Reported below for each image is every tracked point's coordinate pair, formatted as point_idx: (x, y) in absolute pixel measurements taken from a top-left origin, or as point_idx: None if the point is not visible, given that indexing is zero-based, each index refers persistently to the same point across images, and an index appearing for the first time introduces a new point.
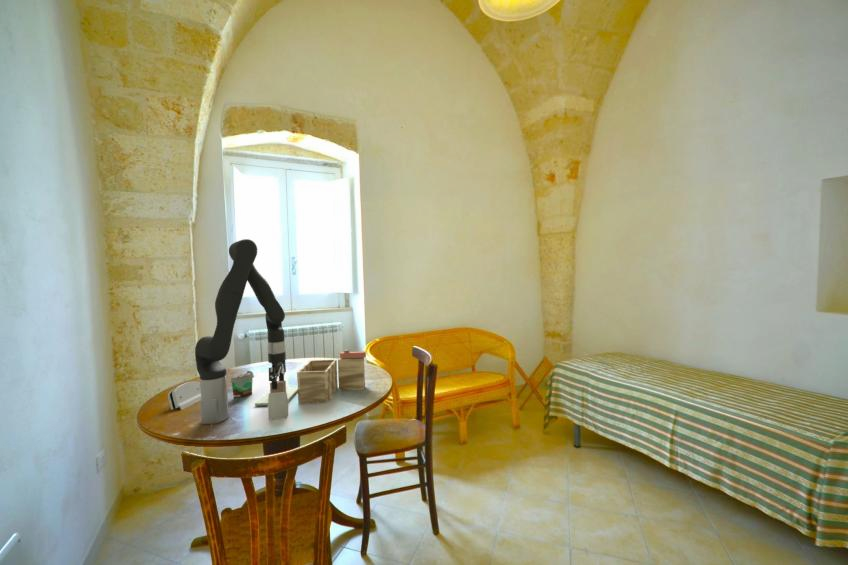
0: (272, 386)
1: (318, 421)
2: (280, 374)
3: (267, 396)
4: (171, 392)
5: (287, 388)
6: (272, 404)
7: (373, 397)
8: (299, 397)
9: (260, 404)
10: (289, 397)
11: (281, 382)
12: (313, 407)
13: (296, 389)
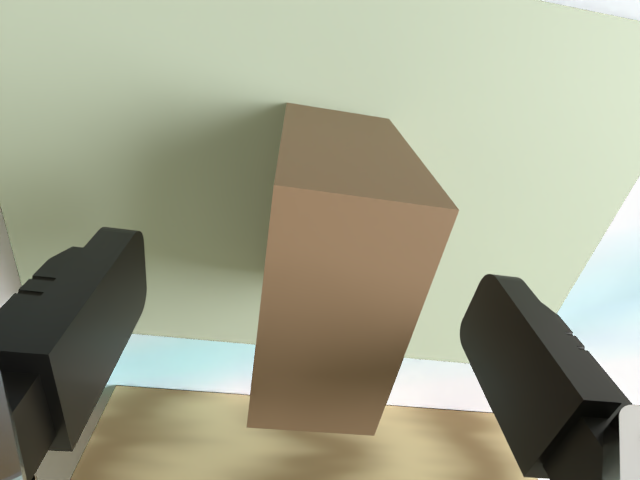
0: (31, 286)
1: None
2: (588, 461)
3: (279, 51)
4: None
5: (542, 265)
6: None
7: None
8: (92, 447)
9: None
10: (191, 337)
11: (266, 402)
12: (40, 471)
13: (449, 356)
